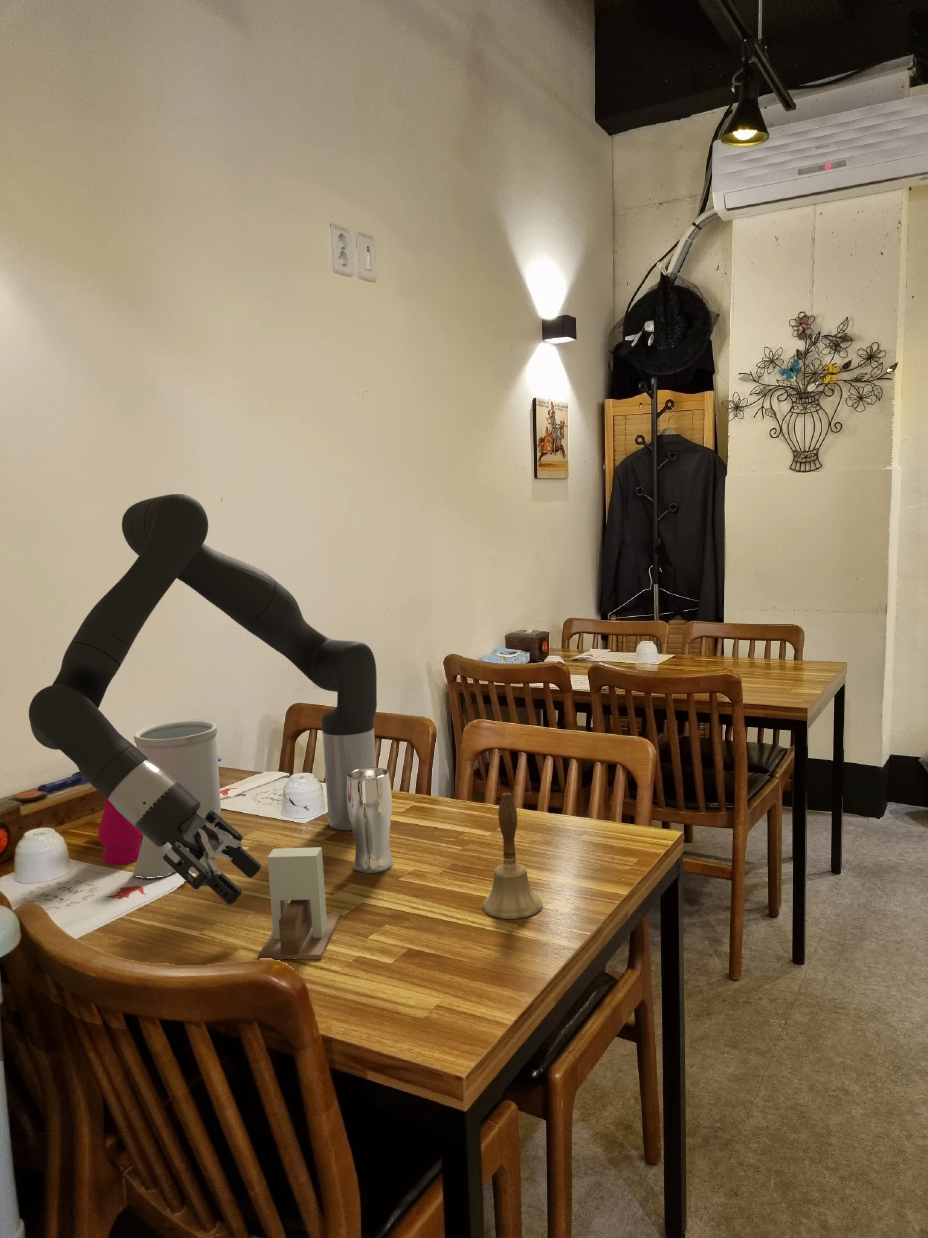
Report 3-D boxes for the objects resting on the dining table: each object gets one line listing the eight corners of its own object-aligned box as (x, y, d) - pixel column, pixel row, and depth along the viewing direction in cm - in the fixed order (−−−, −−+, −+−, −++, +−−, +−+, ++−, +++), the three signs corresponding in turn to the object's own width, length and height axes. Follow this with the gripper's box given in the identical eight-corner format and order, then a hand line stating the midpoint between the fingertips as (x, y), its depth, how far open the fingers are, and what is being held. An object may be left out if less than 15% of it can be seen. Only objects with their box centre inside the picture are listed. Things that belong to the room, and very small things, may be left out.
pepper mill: (155, 852, 152) (145, 737, 150) (126, 868, 145) (115, 748, 143) (121, 849, 154) (110, 735, 152) (91, 864, 148) (79, 746, 146)
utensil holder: (211, 831, 162) (203, 736, 160) (129, 834, 162) (121, 740, 160) (233, 805, 176) (226, 718, 174) (158, 808, 177) (150, 721, 175)
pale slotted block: (273, 939, 116) (267, 857, 115) (279, 928, 119) (273, 848, 118) (322, 938, 115) (316, 855, 114) (327, 927, 118) (321, 847, 117)
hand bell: (470, 906, 124) (464, 794, 122) (515, 889, 129) (510, 781, 127) (509, 925, 118) (503, 808, 116) (554, 906, 123) (550, 793, 121)
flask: (166, 881, 139) (160, 819, 138) (124, 880, 140) (118, 818, 139) (189, 863, 146) (184, 804, 145) (149, 862, 147) (144, 803, 146)
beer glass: (403, 860, 142) (398, 768, 141) (381, 877, 136) (375, 781, 135) (366, 855, 145) (360, 765, 144) (343, 871, 139) (336, 777, 138)
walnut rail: (283, 918, 123) (280, 882, 123) (340, 916, 123) (338, 881, 122) (258, 960, 111) (255, 921, 111) (321, 959, 111) (318, 920, 110)
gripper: (150, 798, 109) (249, 887, 109) (192, 767, 123) (280, 846, 123) (111, 841, 109) (210, 929, 110) (158, 805, 124) (245, 883, 124)
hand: (247, 885), depth 117 cm, fingers open, 8 cm apart
